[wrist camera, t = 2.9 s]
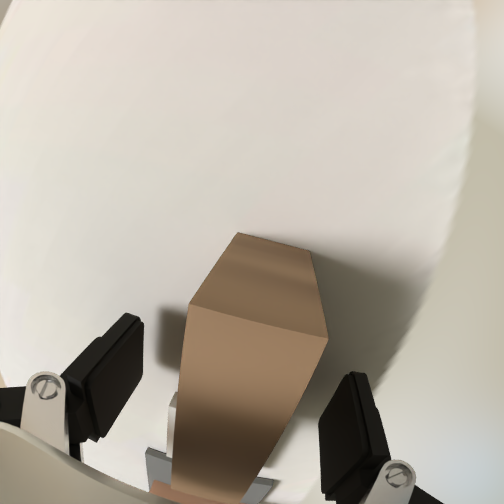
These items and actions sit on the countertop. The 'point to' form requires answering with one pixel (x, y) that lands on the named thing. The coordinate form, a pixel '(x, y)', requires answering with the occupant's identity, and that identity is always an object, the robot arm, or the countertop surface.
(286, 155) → the countertop surface
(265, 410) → the tan tapered bar
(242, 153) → the countertop surface
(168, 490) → the tile
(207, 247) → the countertop surface
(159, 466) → the mat
